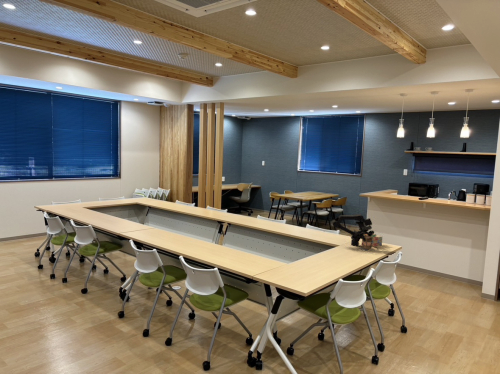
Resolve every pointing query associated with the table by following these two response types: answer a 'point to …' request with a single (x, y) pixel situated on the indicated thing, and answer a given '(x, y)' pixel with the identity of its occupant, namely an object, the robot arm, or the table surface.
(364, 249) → the dock
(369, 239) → the open wooden box
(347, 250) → the table surface
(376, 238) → the stack of blocks
